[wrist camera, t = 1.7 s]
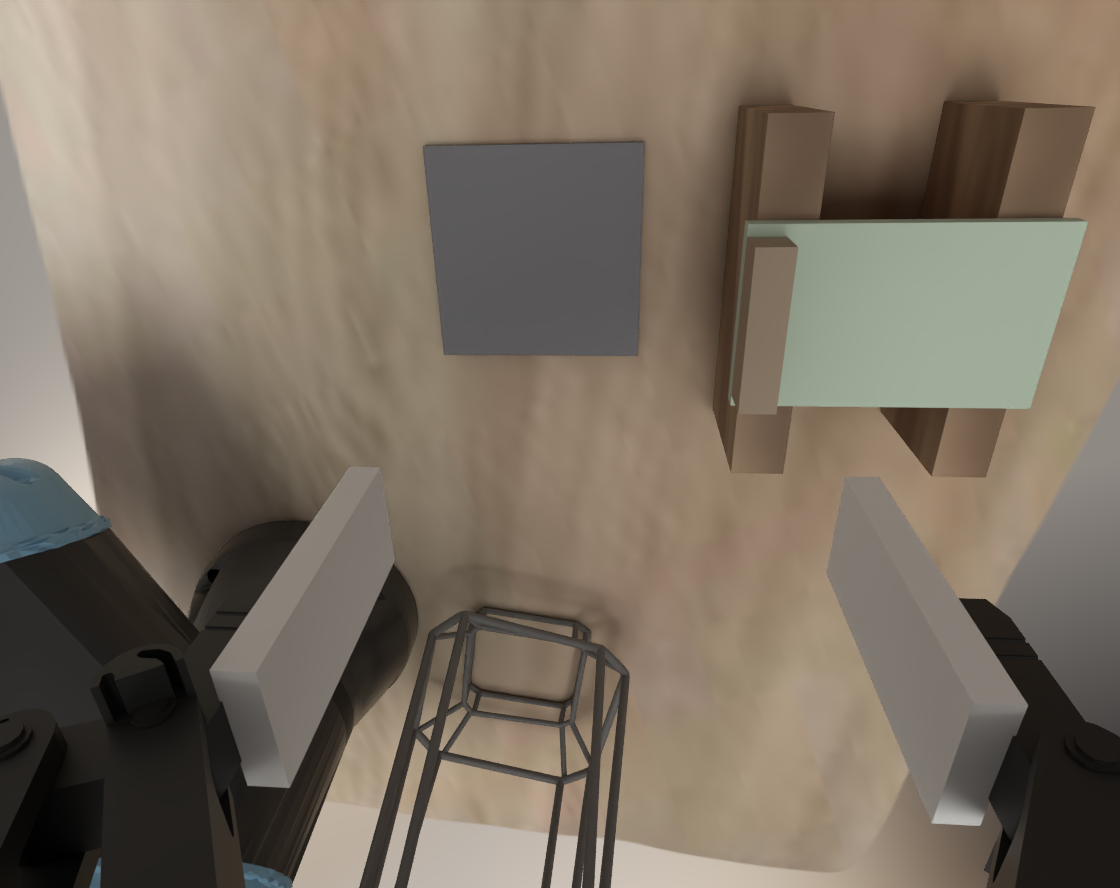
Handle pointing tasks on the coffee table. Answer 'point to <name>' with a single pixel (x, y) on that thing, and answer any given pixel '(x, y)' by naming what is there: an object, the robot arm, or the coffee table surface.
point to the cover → (898, 311)
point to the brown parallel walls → (952, 193)
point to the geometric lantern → (434, 756)
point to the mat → (537, 246)
